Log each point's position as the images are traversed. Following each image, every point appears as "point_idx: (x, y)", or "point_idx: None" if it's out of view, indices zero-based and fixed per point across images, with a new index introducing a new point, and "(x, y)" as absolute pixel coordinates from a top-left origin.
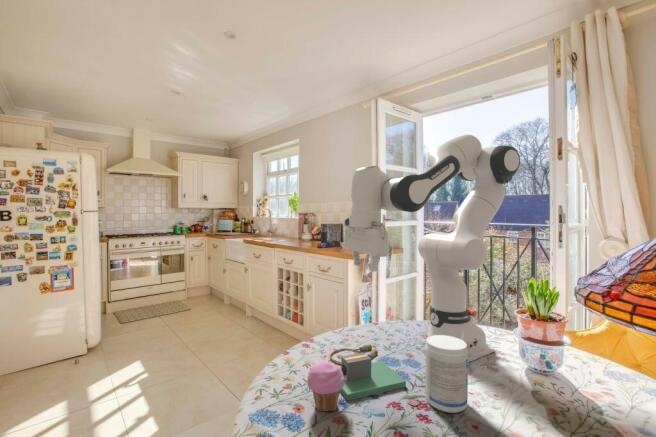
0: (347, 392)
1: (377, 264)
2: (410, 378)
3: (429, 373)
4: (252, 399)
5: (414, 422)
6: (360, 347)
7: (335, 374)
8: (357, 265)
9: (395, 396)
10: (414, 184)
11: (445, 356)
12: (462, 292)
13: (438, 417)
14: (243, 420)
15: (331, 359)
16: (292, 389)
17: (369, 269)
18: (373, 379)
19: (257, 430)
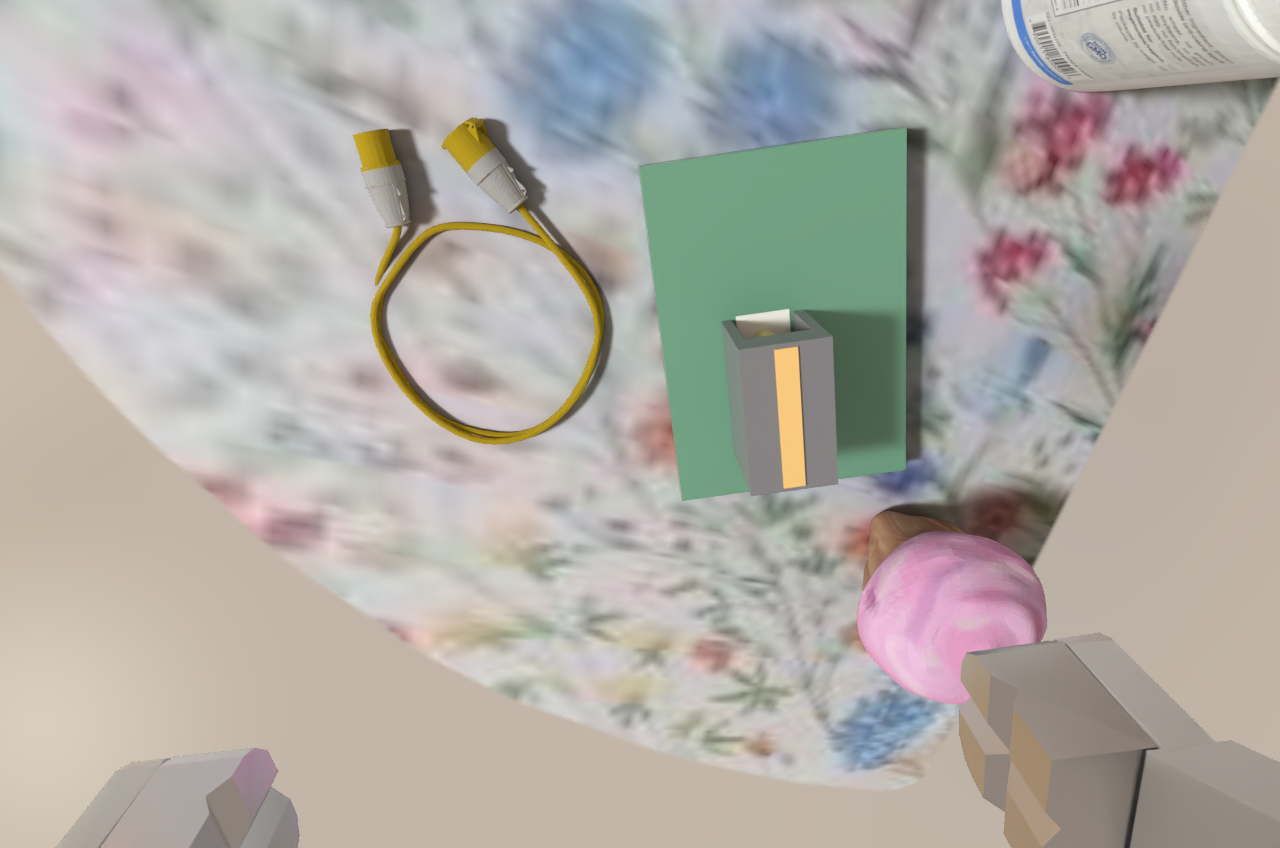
0: (890, 464)
1: (1256, 758)
2: (823, 45)
3: (1208, 82)
4: (766, 762)
5: (1142, 237)
6: (399, 225)
7: (1035, 618)
8: (290, 822)
9: (947, 229)
10: None
11: None
12: None
13: (1171, 101)
14: (873, 782)
15: (510, 437)
16: (742, 641)
17: (993, 776)
18: (828, 305)
19: (937, 748)
